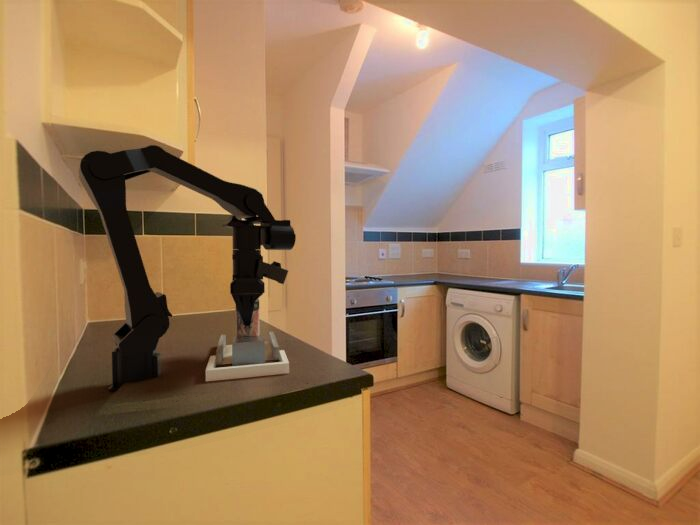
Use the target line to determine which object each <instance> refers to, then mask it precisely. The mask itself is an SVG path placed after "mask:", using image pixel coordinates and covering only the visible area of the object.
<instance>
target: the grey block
mask: <svg viewBox="0 0 700 525" xmlns="http://www.w3.org/2000/svg"><path fill="white" fill-rule="evenodd" d="M265 342H266V341H265V338H264V335H262V334H261V335H260V334H259V336H246V337H236V336H233V337H232V343H231V345H232V366H243V365H254V364H265V363H266V361H265Z"/></svg>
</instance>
